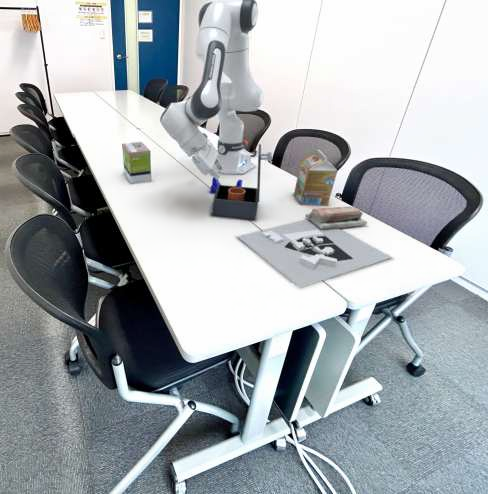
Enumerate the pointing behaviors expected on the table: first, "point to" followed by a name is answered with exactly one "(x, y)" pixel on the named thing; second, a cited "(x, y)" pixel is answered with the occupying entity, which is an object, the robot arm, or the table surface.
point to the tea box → (137, 162)
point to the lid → (269, 158)
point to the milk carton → (315, 180)
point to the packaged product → (336, 217)
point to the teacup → (236, 194)
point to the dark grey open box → (235, 204)
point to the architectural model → (312, 251)
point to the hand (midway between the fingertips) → (220, 173)
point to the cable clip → (216, 183)
